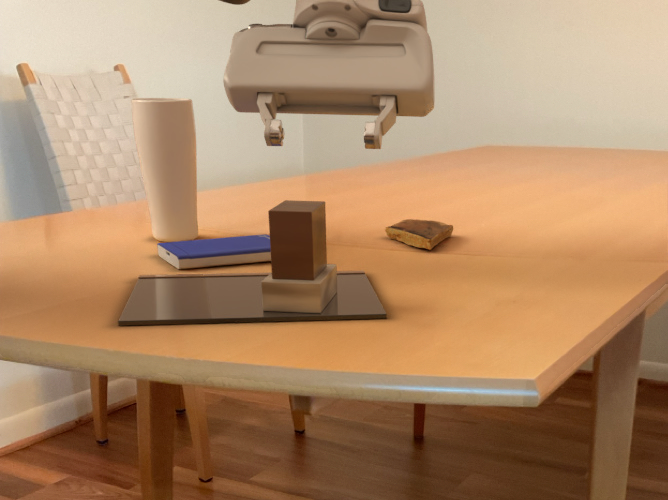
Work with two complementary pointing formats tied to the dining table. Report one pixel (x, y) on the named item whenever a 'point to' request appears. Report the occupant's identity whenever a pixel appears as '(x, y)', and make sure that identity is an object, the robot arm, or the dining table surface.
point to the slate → (237, 300)
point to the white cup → (168, 165)
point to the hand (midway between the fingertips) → (322, 143)
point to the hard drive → (216, 251)
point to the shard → (419, 232)
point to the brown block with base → (298, 259)
